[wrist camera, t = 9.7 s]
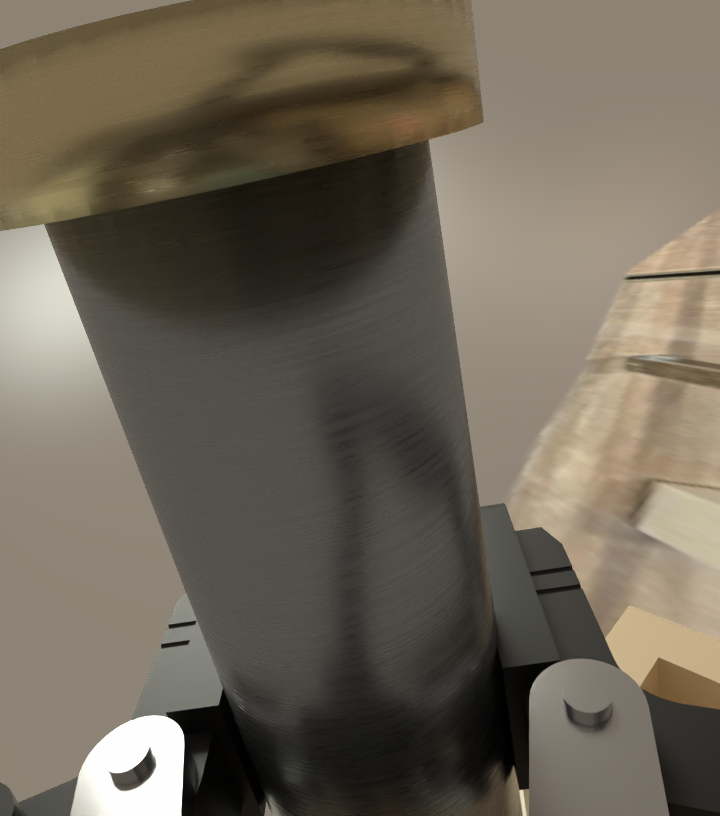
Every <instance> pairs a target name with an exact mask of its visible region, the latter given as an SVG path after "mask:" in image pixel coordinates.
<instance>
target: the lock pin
mask: <svg viewBox="0 0 720 816" xmlns="http://www.w3.org/2000/svg"><path fill="white" fill-rule="evenodd" d="M483 121H484V117H483V109H482V99H481V89H480V80H479V70H478V61H477V52H476V42H475V33H474V23H473V14H472V4H471V0H193V1H187V2H182V3H177V4H172V5H168V6H163V7H158V8H154V9H149V10H144V11H140V12H135V13H130V14H126V15H122V16H117V17H113V18H110V19H105V20H101V21H98V22H93V23H89V24H85V25H81V26H78V27H73V28H70V29H66V30H63V31H59V32H56V33H52V34H48V35H45V36H41V37H38V38H34V39H31V40H28V41H24V42H22V43H18V44H15V45H12V46H9V47H6V48H3V49H0V231H1V230H9V229H16V228H22V227H28V226H35V225H40V224H44V225H45V227H46V230H47V232H48V235H49V238H50V240H51V242H52V245H53V248H54V250H55V253H56V255H57V258H58V261H59V263H60V266H61V269H62V271H63V274H64V276H65V279H66V281H67V284H68V287H69V290H70V292H71V295H72V297H73V300H74V302H75V305H76V308H77V310H78V313H79V315H80V318H81V321H82V323H83V326H84V328H85V331H86V334H87V336H88V339H89V341H90V344H91V347H92V349H93V352H94V354H95V357H96V359H97V362H98V365H99V367H100V370H101V373H102V375H103V378H104V380H105V383H106V386H107V388H108V391H109V393H110V396H111V398H112V401H113V404H114V406H115V409H116V412H117V414H118V417H119V419H120V422H121V424H122V427H123V430H124V432H125V435H126V437H127V440H128V443H129V445H130V448H131V450H132V453H133V456H134V458H135V461H136V463H137V466H138V469H139V471H140V474H141V476H142V479H143V482H144V484H145V487H146V489H147V492H148V495H149V497H150V500H151V502H152V505H153V508H154V510H155V513H156V515H157V518H158V520H159V523H160V526H161V528H162V531H163V534H164V536H165V539H166V541H167V544H168V546H169V549H170V552H171V554H172V557H173V559H174V562H175V565H176V567H177V570H178V572H179V575H180V578H181V580H182V583H183V585H184V588H185V591H186V593H187V596H188V598H189V601H190V604H191V606H192V609H193V611H194V614H195V617H196V619H197V622H198V624H199V627H200V630H201V632H202V635H203V637H204V640H205V643H206V645H207V648H208V650H209V653H210V656H211V658H212V661H213V663H214V666H215V668H216V671H217V674H218V676H219V679H220V681H221V684H222V687H223V689H224V692H225V694H226V697H227V700H228V702H229V705H230V707H231V710H232V713H233V715H234V718H235V720H236V723H237V726H238V728H239V731H240V733H241V736H242V739H243V741H244V744H245V746H246V749H247V752H248V754H249V757H250V759H251V762H252V765H253V767H254V770H255V772H256V775H257V778H258V780H259V783H260V785H261V788H262V790H263V793H264V796H265V798H266V801H267V803H268V806H269V809H270V811H271V814H272V816H523V813H522V806H521V799H520V792H519V786H518V782H517V777H516V773H515V768H514V764H513V756H512V749H511V742H510V735H509V728H508V721H507V714H506V707H505V700H504V693H503V686H502V679H501V672H500V665H499V657H498V650H497V627H496V620H495V613H494V605H493V598H492V591H491V584H490V577H489V570H488V563H487V555H486V548H485V541H484V534H483V527H482V520H481V512H480V506H479V498H478V492H477V484H476V477H475V470H474V463H473V456H472V448H471V441H470V434H469V427H468V419H467V412H466V405H465V398H464V391H463V383H462V376H461V369H460V362H459V355H458V348H457V341H456V333H455V326H454V319H453V312H452V305H451V297H450V291H449V283H448V277H447V269H446V262H445V255H444V247H443V240H442V234H441V226H440V219H439V212H438V205H437V197H436V190H435V183H434V176H433V168H432V161H431V155H430V147H429V139H432V138H436V137H440V136H443V135H447V134H450V133H454V132H457V131H461V130H464V129H467V128H469V127H473V126H475V125H478V124H480V123H482V122H483Z"/></svg>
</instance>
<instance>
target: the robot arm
mask: <svg viewBox="0 0 720 816" xmlns="http://www.w3.org/2000/svg"><path fill="white" fill-rule="evenodd" d="M480 512H481V520H482V527H483V534H484V541H485V548H486V555H487V563H488V570H489V577H490V584H491V591H492V598H493V605H494V613H495V620H496V627H497V650H498V657H499V665H500V672H501V679H502V686H503V693H504V700H505V707H506V714H507V721H508V728H509V735H510V742H511V749H512V756H513V764H514V768H515V773H516V777H517V782H518V786H519V790H525V789H529V816H720V709H714V708H707V707H701V706H694V705H687V704H682V703H677V702H672V701H669V700H666V699H663V698H660V697H658V696H656V695H653V694H651V693H649V692H648V691H646V690H644V689H642V688H641V687H639V685H638V684H637V683H636V682H635V681H634V680H633V679H632V678H631V677H630V676H629V675H628V674H626V673H625V672H623V671H622V670H621V669H620V668H619V667H618V665H617V663H616V661H615V659H614V657H613V655H612V653H611V651H610V649H609V646H608V644H607V642H606V640H605V638H604V635H603V633H602V631H601V629H600V627H599V624H598V622H597V620H596V618H595V616H594V613H593V611H592V609H591V607H590V605H589V602H588V600H587V598H586V596H585V594H584V591H583V589H581V586H580V583H579V580H578V578H577V576H576V574H575V572H574V570H573V569H572V565H571V563H570V561H569V558H568V556H567V554H566V552H565V550H564V547H563V545H562V544H561V543H560V542H559V541H558V540H556V539H555V538H554V537H553V536H551V535H550V534H549V533H548V532H546V531H545V530H544V529H543V528H541V527H540V528H533V529H527V530H520V531H515V530H514V528H513V525H512V522H511V519H510V516H509V513H508V511H507V508H506V505H505V504H504V503H502V504H496V505H490V506H483V507H480ZM265 806H266V798H265V796H264V793H263V790H262V788H261V785H260V783H259V780H258V778H257V775H256V772H255V770H254V767H253V765H252V762H251V759H250V757H249V754H248V752H247V749H246V746H245V744H244V741H243V739H242V736H241V733H240V731H239V728H238V726H237V723H236V720H235V718H234V715H233V713H232V710H231V707H230V705H229V702H228V700H227V697H226V694H225V692H224V689H223V687H222V684H221V681H220V679H219V676H218V674H217V671H216V668H215V666H214V663H213V661H212V658H211V656H210V653H209V650H208V648H207V645H206V643H205V640H204V637H203V635H202V632H201V630H200V627H199V624H198V622H197V619H196V617H195V614H194V611H193V609H192V606H191V604H190V601H189V598H188V596H187V593H186V592H185V593H184V595H183V596H182V597H181V598H180V599H179V600H178V602H177V604H176V607H175V609H174V612H173V615H172V617H171V620H170V622H169V629H167V630H166V632H165V635H164V637H163V640H162V643H161V649H159V650H158V653H157V655H156V658H155V661H154V663H153V666H152V668H151V671H150V673H149V676H148V679H147V681H146V684H145V686H144V689H143V691H142V694H141V697H140V700H139V702H138V705H137V707H136V709H135V712H134V715H133V717H132V720H131V721H130V722H127V723H126V724H124V725H122V726H120V727H118V728H117V729H115V730H114V731H112V732H111V733H110V734H108V735H107V736H106V737H105V738H103V739H102V740H101V741H100V742H99V743H98V745H96V746H95V748H94V749H93V750H92V751H91V753H90V754H89V756H88V757H87V759H86V760H85V762H84V764H83V766H82V768H81V771H80V774H79V777H77V778H75V779H73V780H71V781H68V782H66V783H64V784H61V785H59V786H57V787H54V788H52V789H49V790H47V791H45V792H43V793H40V794H38V795H35V796H33V797H31V798H28V799H26V800H23V801H21V802H19V803H18V801H17V800H16V798H15V797H14V795H13V794H12V792H11V790H10V789H9V788H8V787H7V786H6V785H4V784H2V783H0V816H264V813H265Z"/></svg>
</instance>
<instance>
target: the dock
mask: <svg viewBox="0 0 720 816" xmlns="http://www.w3.org/2000/svg"><path fill="white" fill-rule="evenodd" d="M605 640H606V642H607V644H608V646H609V649H610V651H611V653H612V655H613V657H614V659H615V661H616V663H617V665H618V667H619V668H620V669H621V670H622V671H623V672H625V673H626V674H628V675H629V676H630V677H631V678H632V679H633V680H634V681H635V682H636V683H637V684H638V685H639V687H641V688H642V689H644V690H646V691H648V692H649V693H651V694H653V695H656V696H658V697H660V698H663V699H666V700H669V701H672V702H677V703H682V704H687V705H694V706H701V707H707V708H714V709H720V640H718V639H716V638H713V637H711V636H708V635H705V634H703V633H700V632H698V631H695V630H692V629H690V628H687V627H685V626H682V625H679V624H677V623H674V622H672V621H669V620H666V619H664V618H661V617H659V616H656V615H653V614H651V613H648V612H646V611H643V610H640V609H638V608H635V607H633V606H630V605H629V607H628V608H627V609H626V611H625V612H624V614H623V615H622V616H621V618H620V619H619V620H618V622H617V623H616V624H615V626H614V627H613V629H612V630H611V631H610V633H609V634H608V635H607V637H606V638H605ZM519 792H520V799H521V806H522V813H523V816H529V789H525V790H519Z"/></svg>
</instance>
